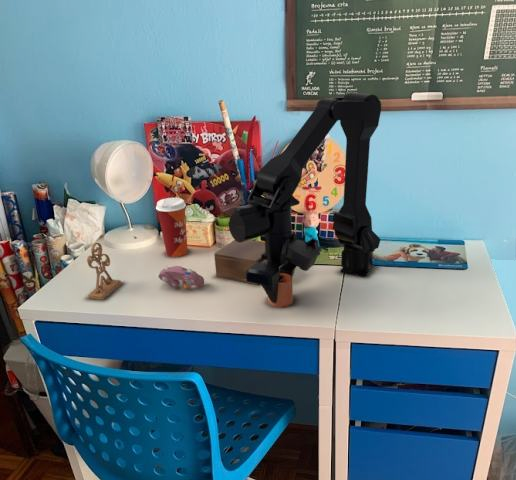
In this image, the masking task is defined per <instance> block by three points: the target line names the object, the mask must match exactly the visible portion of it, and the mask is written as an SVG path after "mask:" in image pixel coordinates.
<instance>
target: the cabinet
mask: <svg viewBox="0 0 516 480" xmlns="http://www.w3.org/2000/svg"><path fill="white" fill-rule="evenodd" d="M264 252H265V241H257V240H253V239H250V240H247V241H244V242H241V243H240V242H237V241H236V240H235V239H233V240H232V241H230V242H229V243H228V244H226V245H224V246H223V247H222V248H220V249H218V250H217V251H216V252H214V253H213V255H214V266H215V275H216V278H220V279H226V280H232V281H236V282H242V283H247V284H253V285H259V284H257V283H252V282H247V281H246V271H247V270H248V269H249V268H250V267H252V266H253V265H254V264H256V263H257V262H260V261H261V260H262V257H261V254H263V253H264Z"/></svg>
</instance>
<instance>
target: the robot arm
mask: <svg viewBox="0 0 516 480" xmlns="http://www.w3.org/2000/svg"><path fill="white" fill-rule="evenodd" d="M381 114H382V101H381V100H380V99H379V98H378V96H377V95H375V94H369V93H361V92H353V91H350V92H347V93H346V94H345V95H344V96H343V97H342V96H340V97H331V98H328V97H323V98H321V99H319V101H317V103H316V105H315V109H314V110H313V111H312V112H311V114H310V115H309V117H308V118H307V119H306V121H305V122H304V123H303V124H302V126H301V127H300V129H299V130H298V131H297V133H296V134H295V136H294V137H293V138H292V140H291V141H290V142H289V143H288V145H287V146H286V147H285V149H284V150H283V151H282V152H281V153H280V154H277V155H276V156H274V157H273V158H270V159H269V160H268V161H267V162H266V163H265V164H264V165H263V166H262V167H261V168H260V170H259V171H258V172H257V174H256V179H255V182H254V184H253V186H252V187H251V188H252V189H251V191H250V193H249V194H248V197H247V199H246V202H247V203H248V204H245V205H238V206H235V207H233V213H232V214H231V215H230V217H229V221H228V230H229V233H230V235H231V237H232V238H233V240H236V241H237V242H240V243H241V242H244V241H247V240H253V239H256V238H260V242H264V243H265V252H264V253H263V254H261V257H262V259H265V260H267V261H268V262H267V263H266V264H264V263H258V262H257V263H256V264H254V265H253V266H252V267H250V268H249V269H248V270H247V271H246V281H247V282H252V283H257V284H258V285H260V286H261V287H262V289H263V290H264V292H265V294H266V295H267V298H268V297H269V299H270V300H271V302H272V303H276V302H277V296H278V284H279V281H281V280H282V279H283V278H284V276H280V273H285V274H289V275H291V276H292V278H293V279H294V274H295V271H296V269H297V268H299V269H300V270H301V271H304V272H308V271H309V270H310V269H311V268H312V267H313V266H315V263H316V261H317V258H318V257H319V256H320V255H321V248H320V244H319V240H318V239H317V238H314V237H311V238H310V239H309V240H308V241H305V240H301V239H298V235H297V233H296V231H293V230H292V227H293V226H292V207H295V206H298V205H300V204H301V202H300V200H298V199H297V198H296V197H295V196H294V194H295V193H296V192H295V191H296V190H297V188H298V186H299V185H300V182H301V181H302V175H303V169H304V167H305V165H307V163H308V162H309V160H310V158H311V157H312V156H313V154H314V153H315V152H316V151H317V149H318V148H319V146H320V145H321V144H322V142H323V141H324V140H325V138H326V137H327V135H328V134H329V133H330V132H331V130H332V129H333V128H334V126H335V125H336V123H337V122H338V121H339V124H340V127H341V129H342V131H343V133H344V135H345V139H346V144H345V165H344V185H343V203H342V206H341V207H340V209H339V210H338V211H335V212H334V213H333V217H332V218H333V224H332V230H333V232H334V236H336V237H337V240H338V244H340V245H343V249H342V250H341V260H340V262H341V264H340V266H341V269H340V271H339V272H340V273H343V274H346V275H347V274H348V275H353V276H360V277H367V276H368V275H369V274H370V272H371V271H372V270H373V269H374V268H375V267H376V265H375V264H374V263H373V260H374V259H373V258H374V257H373V256H374V252H375V251H376V249H379V247H380V244H381V238H380V237H379V236H378V235H377V234H376V233H375V231H373V221H372V220H373V219H372V216H371V214H370V211H369V209H368V207H367V191H368V190H367V189H368V175H369V160H370V159H369V158H370V147H371V146H370V145H371V138H372V136H373V135H374V133H375V132H376V130H377V129H378V127H379V125H380V124H379V122H380V118H381ZM263 195H266V196H268V197H272V199H271V198H268V197H265V196H263Z"/></svg>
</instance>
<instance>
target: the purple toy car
mask: <svg viewBox="0 0 516 480" xmlns="http://www.w3.org/2000/svg"><path fill="white" fill-rule="evenodd" d="M158 279H159V280H160V281H162V282H163V283H166V284H168V285H169V286H170V287H171V288H174V289H176V288H179V286H180V285H181V287H182V288H183V289H185V290H190V289H191V288H192V286H194V287H199V288H200V287H203V286H204V285H205V278H204V276H202V275H200V274H199V273H197V271H195V270H193V269H191V268H185V267H183V266H182V265H181V266H180V265H174V266H170V267H169V266H167V265H165V266H164V268H162V270H161V271H160V272H159V274H158Z"/></svg>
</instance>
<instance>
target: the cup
mask: <svg viewBox="0 0 516 480" xmlns="http://www.w3.org/2000/svg"><path fill="white" fill-rule="evenodd" d="M280 276H284V278H283V279H282V280H281V281H279V284H278V296H277V302H276V303H272V302H271V300H270V299H269V297H268V296H267V303H268V304H269V305H270V306H272V307H277V308H282V307H287V306H289V305H291V304H293V302H294V284H293V283H294V282H293V281H294V280H293V279H294V277H293V278H292V276H291V275H289V274H285V273H280Z"/></svg>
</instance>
